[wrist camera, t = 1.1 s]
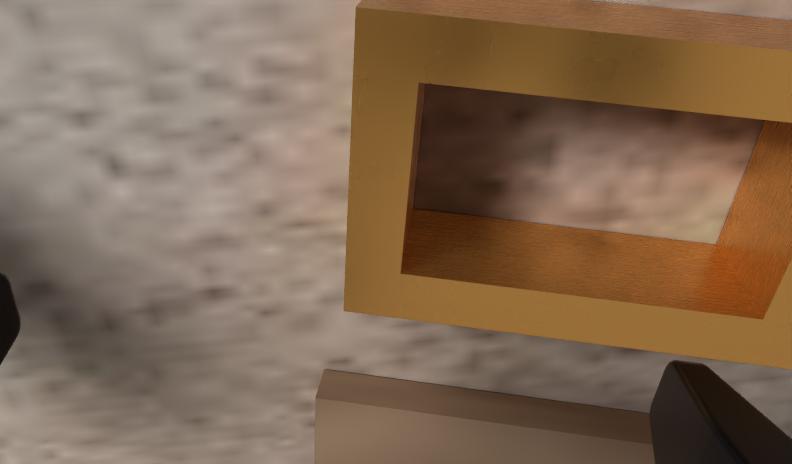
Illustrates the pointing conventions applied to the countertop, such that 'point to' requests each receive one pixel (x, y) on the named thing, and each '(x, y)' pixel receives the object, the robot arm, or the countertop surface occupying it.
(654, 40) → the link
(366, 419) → the keeper board
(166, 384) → the countertop surface
